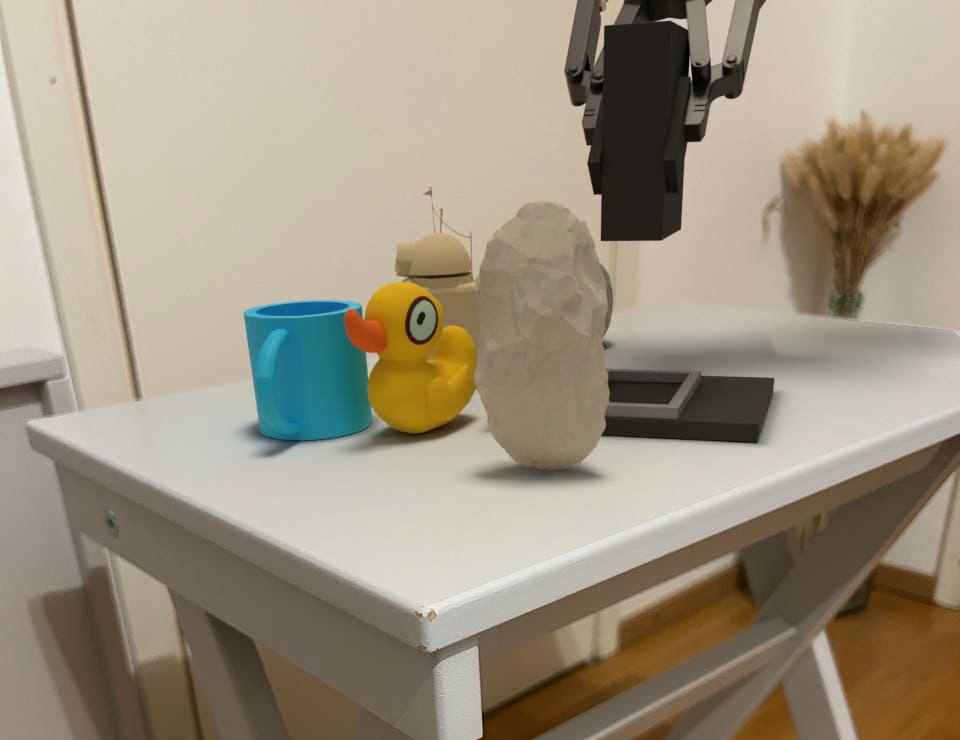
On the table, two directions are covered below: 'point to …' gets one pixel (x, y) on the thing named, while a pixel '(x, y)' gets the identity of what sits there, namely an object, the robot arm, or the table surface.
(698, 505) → the table surface
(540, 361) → the stone
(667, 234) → the pad block
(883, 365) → the table surface
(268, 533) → the table surface
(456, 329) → the duckling
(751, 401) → the base pad
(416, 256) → the robot
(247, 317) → the mug
